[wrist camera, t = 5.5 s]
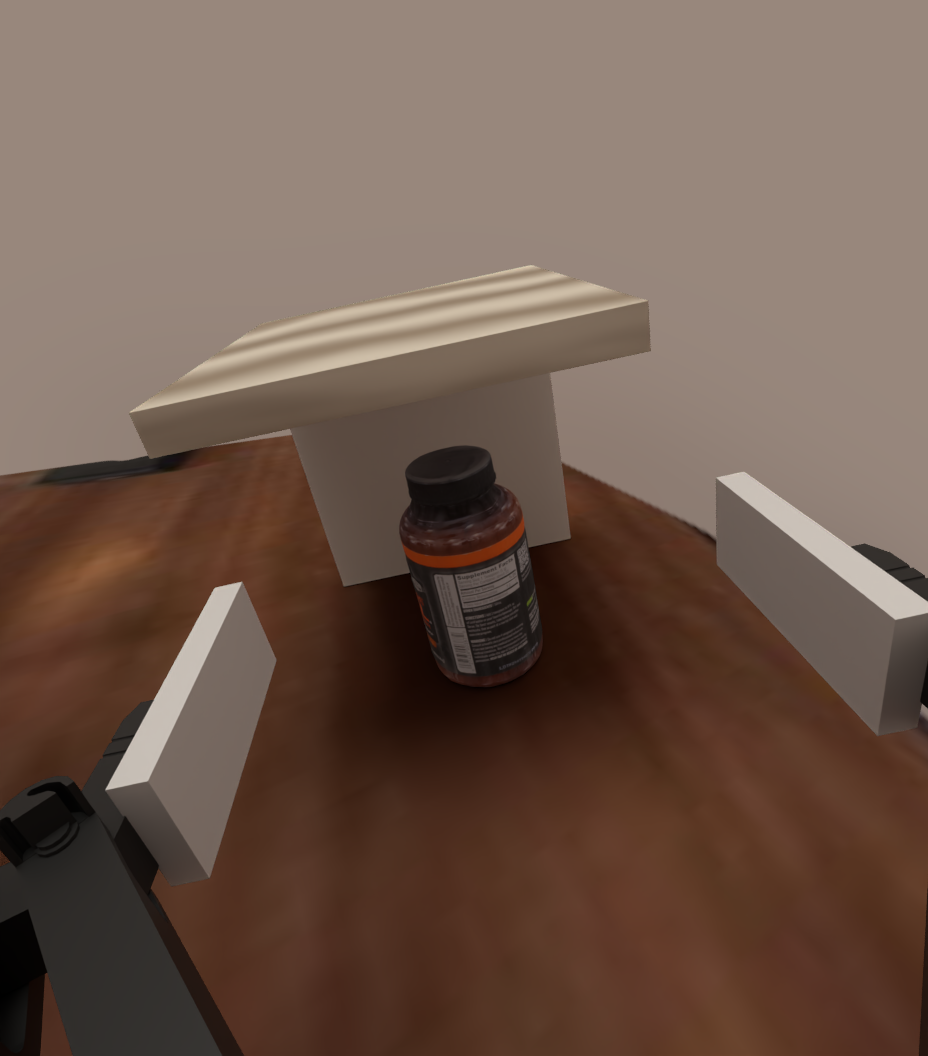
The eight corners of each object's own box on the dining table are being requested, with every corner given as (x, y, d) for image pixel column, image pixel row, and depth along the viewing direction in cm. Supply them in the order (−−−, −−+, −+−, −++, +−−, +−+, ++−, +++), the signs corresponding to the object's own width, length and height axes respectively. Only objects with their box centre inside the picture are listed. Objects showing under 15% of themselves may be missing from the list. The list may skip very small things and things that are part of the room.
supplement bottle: (432, 632, 35) (383, 452, 30) (532, 610, 35) (500, 426, 30) (439, 705, 30) (381, 500, 24) (557, 678, 30) (524, 469, 24)
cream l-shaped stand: (668, 722, 26) (648, 300, 18) (307, 798, 26) (128, 413, 18) (565, 528, 43) (531, 265, 35) (345, 574, 43) (261, 323, 35)
